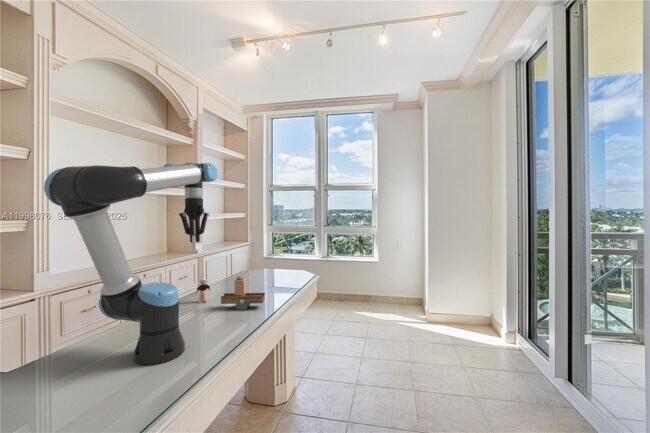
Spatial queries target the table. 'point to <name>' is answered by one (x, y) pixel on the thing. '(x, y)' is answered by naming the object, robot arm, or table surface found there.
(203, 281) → the grandmother figurine
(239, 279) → the rider
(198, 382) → the table surface
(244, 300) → the beam
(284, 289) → the table surface
